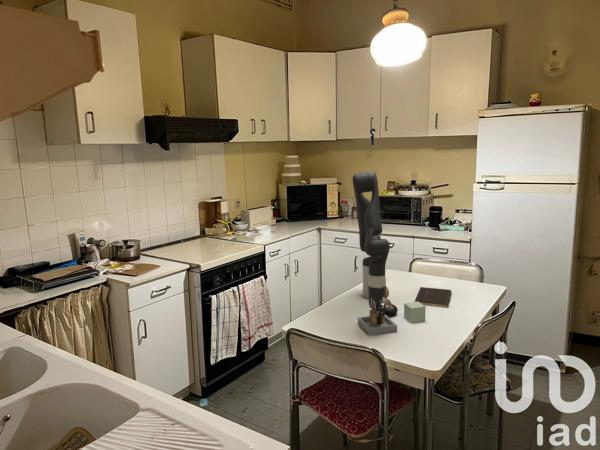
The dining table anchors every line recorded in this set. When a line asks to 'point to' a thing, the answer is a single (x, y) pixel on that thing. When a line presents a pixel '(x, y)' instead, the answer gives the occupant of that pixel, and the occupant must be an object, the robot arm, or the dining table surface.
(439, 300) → the hardcover book
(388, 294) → the natural sponge
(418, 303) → the sage block
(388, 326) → the grey tray
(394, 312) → the caster wheel
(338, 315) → the dining table surface
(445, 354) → the dining table surface
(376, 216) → the robot arm
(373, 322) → the walnut block
